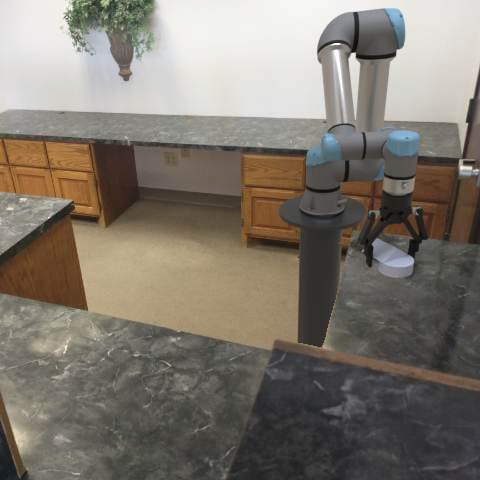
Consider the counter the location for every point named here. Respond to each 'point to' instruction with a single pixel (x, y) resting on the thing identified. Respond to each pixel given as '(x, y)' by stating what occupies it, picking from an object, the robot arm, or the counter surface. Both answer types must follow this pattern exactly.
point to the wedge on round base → (392, 260)
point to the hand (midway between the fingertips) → (389, 263)
